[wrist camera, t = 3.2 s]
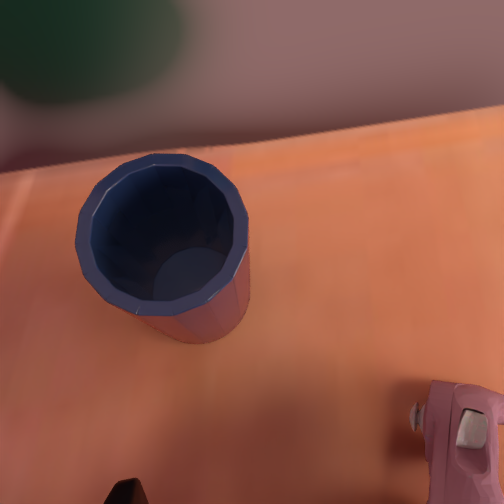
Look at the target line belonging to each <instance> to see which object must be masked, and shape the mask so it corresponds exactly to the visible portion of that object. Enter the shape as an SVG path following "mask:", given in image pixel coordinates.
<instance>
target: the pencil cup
mask: <svg viewBox="0 0 504 504" xmlns="http://www.w3.org/2000/svg"><path fill="white" fill-rule="evenodd" d="M75 248H76V252H77V255H78V259H79V262H80V266H81V269H82V273H83V275H84V277H85V279H86V280H87V281H88V282H89V283H90V284H91V286H92V287H93V288H94V289H95V290H96V291H97V292H98V294H99V295H100V296H101V297H102V298H103V299H104V300H105V301H106V302H108V303H109V304H111V305H113V306H115V307H117V308H118V309H120V310H122V311H124V312H125V313H127V314H129V315H131V316H133V317H134V318H136V319H138V320H140V321H142V322H143V323H145V324H147V325H149V326H151V327H152V328H154V329H156V330H158V331H160V332H161V333H163V334H165V335H167V336H170V337H172V338H174V339H175V340H178V341H181V342H184V343H189V344H204V343H210V342H213V341H216V340H218V339H220V338H222V337H224V336H225V335H227V334H229V333H230V332H231V331H232V330H233V329H234V328H235V327H236V326H237V325H238V324H239V323H240V321H241V320H242V318H243V316H244V314H245V313H246V310H247V307H248V304H249V300H250V253H249V217H248V213H247V211H246V208H245V206H244V204H243V201H242V199H241V196H240V194H239V192H238V189H237V188H236V186H235V185H234V184H233V183H232V182H231V181H230V180H229V179H228V178H227V177H226V176H224V175H223V174H222V173H221V172H220V171H219V170H218V169H217V168H216V167H215V166H213V165H212V164H209V163H207V162H204V161H202V160H199V159H197V158H194V157H191V156H189V155H186V154H185V155H184V154H156V153H154V154H149V155H147V156H144V157H141V158H138V159H135V160H132V161H129V162H126V163H123V164H122V165H120V166H118V167H117V168H116V169H115V170H113V171H112V172H111V173H110V174H108V175H107V176H106V177H105V178H103V179H102V180H101V181H100V182H98V183H97V185H95V187H94V188H93V190H92V192H91V193H90V195H89V197H88V198H87V200H86V202H85V203H84V205H83V207H82V209H81V210H80V213H79V217H78V224H77V231H76V238H75Z"/></svg>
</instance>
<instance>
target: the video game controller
mask: <svg viewBox="0 0 504 504" xmlns="http://www.w3.org/2000/svg"><path fill="white" fill-rule="evenodd" d="M409 421H410V423H411V427H412V429H413V431H416V430H417V425H418V424H419V426H420V429H421V432H422V433H423V437H424V440H425V458H426V461H427V462H428V463H429V475H430V487H429V500H428V501H427V504H504V497H503V493H502V490H501V487H500V484H499V478H498V463H499V442H498V426H497V424H501V425H504V395H502V394H499V393H497V392H494V391H491V390H489V389H486V388H484V387H481V386H477V385H472V384H462V383H450V382H443V381H435V380H432V382H431V385H430V391H429V397H428V399H427V401H426V403H425V404H424V405H423V407H422V408H421V410H420V411H419V404H418V403H417V402H416V403H415V404H414V405H413V407H412V408H411V410H410V417H409Z"/></svg>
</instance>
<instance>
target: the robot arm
mask: <svg viewBox="0 0 504 504" xmlns="http://www.w3.org/2000/svg"><path fill="white" fill-rule="evenodd" d="M104 504H149V503H148V500H147V498H146V495H145V492H144V490H143V487H142V485H141V482H140V480H139V479H138V478H131V479H126V480H121V481H118V482H117V483H116V484H115V485H114V487H113V488H112V490H111V492H110V494H109V495H108V497H107V499H106V500H105V502H104Z"/></svg>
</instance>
